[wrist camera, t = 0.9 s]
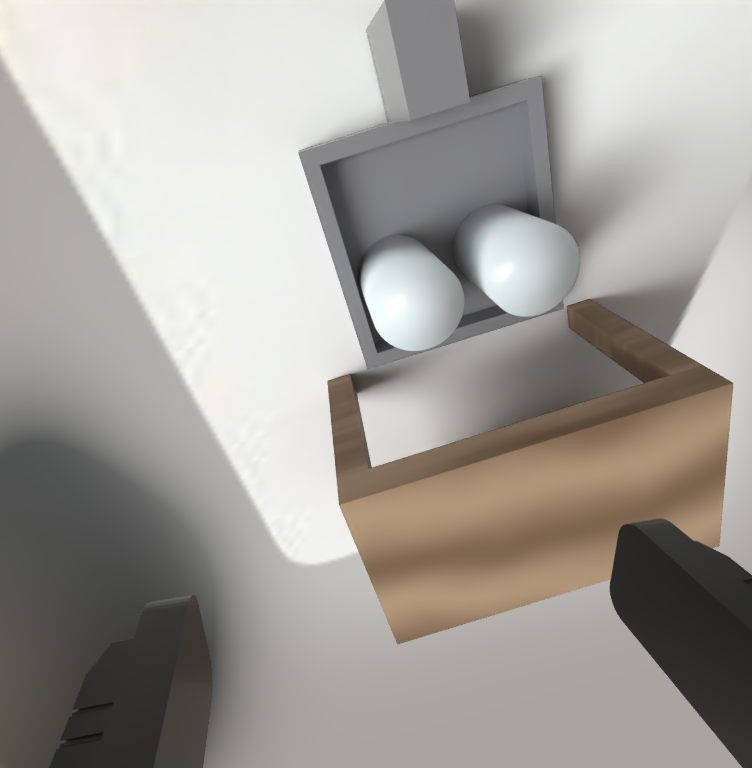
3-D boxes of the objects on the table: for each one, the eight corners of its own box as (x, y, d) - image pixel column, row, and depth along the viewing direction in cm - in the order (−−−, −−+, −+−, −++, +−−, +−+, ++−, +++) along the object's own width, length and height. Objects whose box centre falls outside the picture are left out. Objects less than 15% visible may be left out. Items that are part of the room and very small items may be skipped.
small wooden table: (327, 381, 31) (339, 505, 21) (589, 299, 31) (733, 383, 21) (370, 496, 36) (397, 644, 26) (598, 425, 36) (719, 546, 25)
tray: (270, 62, 24) (258, 37, 17) (510, -15, 23) (583, -67, 17) (363, 352, 31) (377, 407, 25) (545, 295, 31) (604, 337, 25)
